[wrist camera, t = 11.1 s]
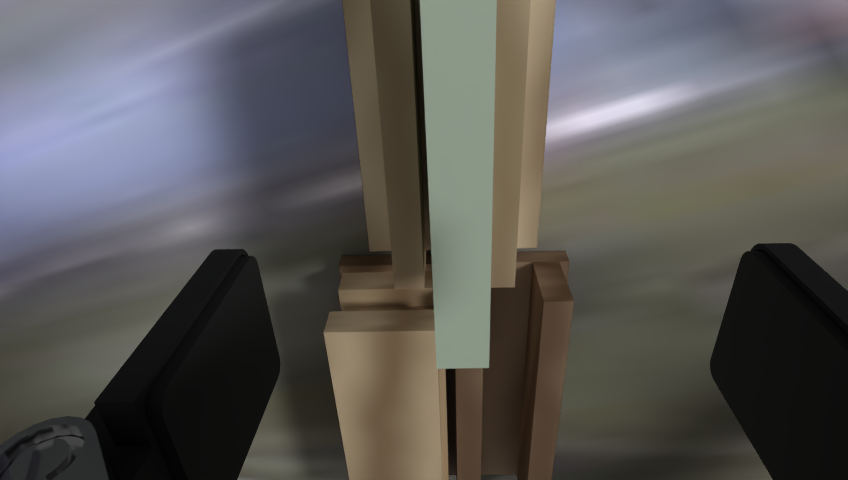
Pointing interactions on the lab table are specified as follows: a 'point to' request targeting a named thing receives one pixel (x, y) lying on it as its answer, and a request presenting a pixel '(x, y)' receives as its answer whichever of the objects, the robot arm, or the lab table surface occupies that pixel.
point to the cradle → (406, 131)
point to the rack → (448, 376)
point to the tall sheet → (460, 172)
